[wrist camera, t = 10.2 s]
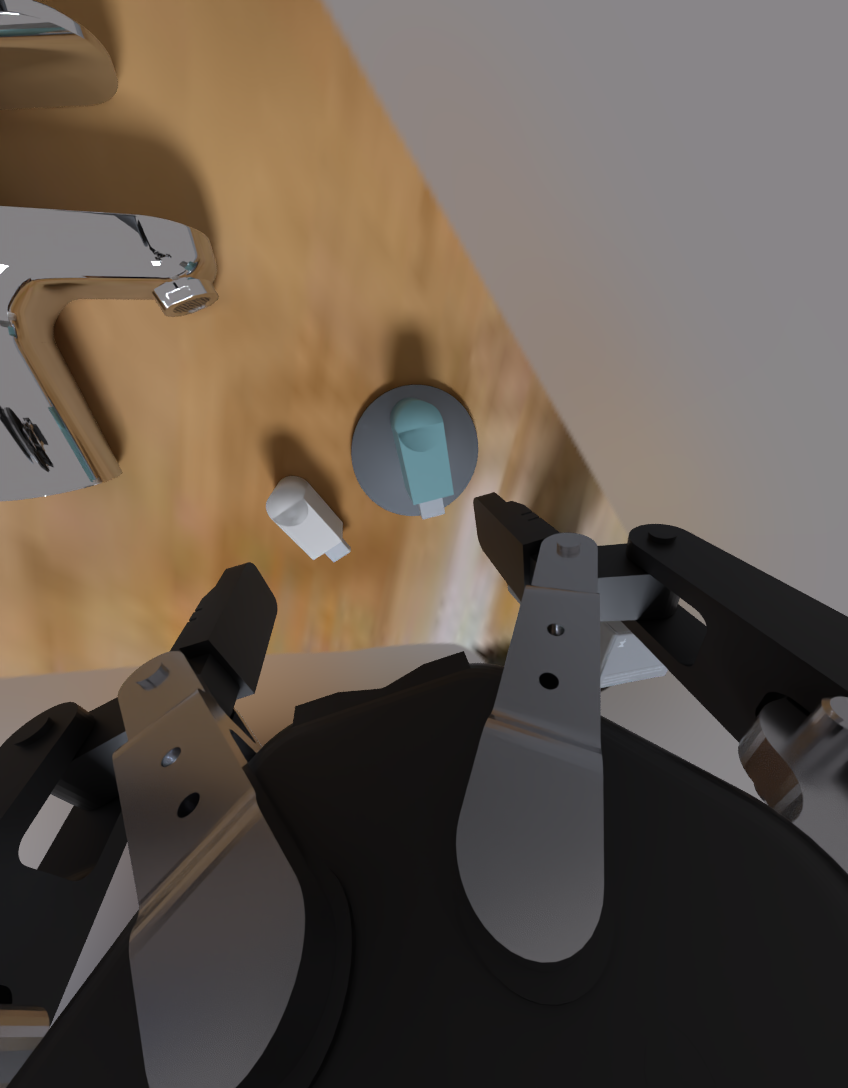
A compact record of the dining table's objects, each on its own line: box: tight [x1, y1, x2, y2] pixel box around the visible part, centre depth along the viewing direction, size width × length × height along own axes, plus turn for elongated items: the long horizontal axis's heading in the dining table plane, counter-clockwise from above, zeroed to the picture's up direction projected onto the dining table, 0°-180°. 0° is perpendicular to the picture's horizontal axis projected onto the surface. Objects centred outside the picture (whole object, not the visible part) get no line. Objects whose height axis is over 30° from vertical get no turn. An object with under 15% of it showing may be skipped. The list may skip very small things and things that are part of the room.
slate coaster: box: [351, 385, 478, 516], centre depth 29 cm, size 12×12×1 cm
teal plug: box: [390, 397, 454, 519], centre depth 27 cm, size 10×4×4 cm, turn 11°
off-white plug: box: [266, 476, 351, 562], centre depth 28 cm, size 9×3×4 cm, turn 31°
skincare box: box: [508, 585, 668, 688], centre depth 33 cm, size 8×7×16 cm
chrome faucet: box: [0, 0, 219, 501], centre depth 18 cm, size 18×7×20 cm
